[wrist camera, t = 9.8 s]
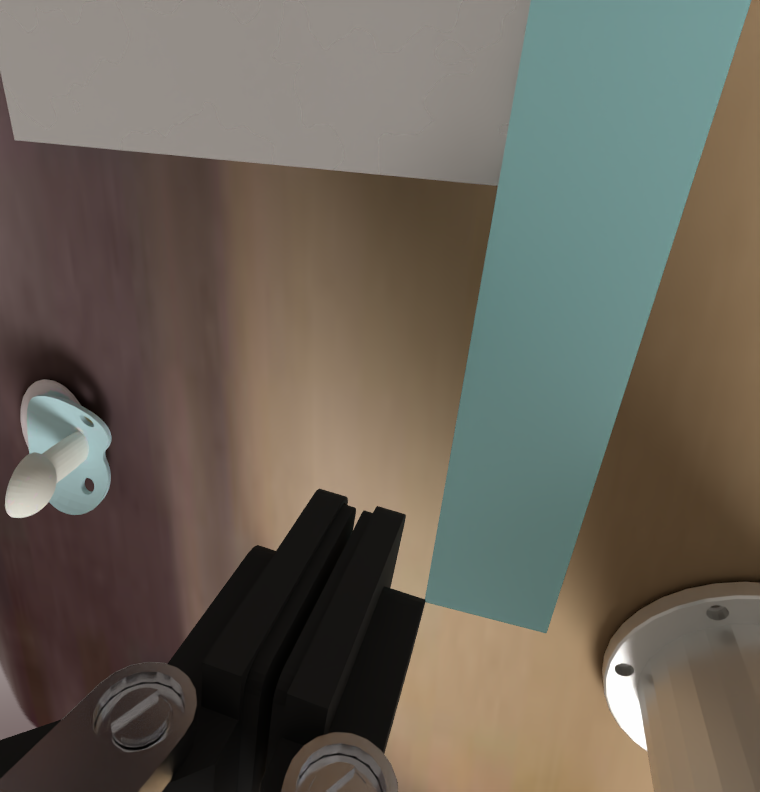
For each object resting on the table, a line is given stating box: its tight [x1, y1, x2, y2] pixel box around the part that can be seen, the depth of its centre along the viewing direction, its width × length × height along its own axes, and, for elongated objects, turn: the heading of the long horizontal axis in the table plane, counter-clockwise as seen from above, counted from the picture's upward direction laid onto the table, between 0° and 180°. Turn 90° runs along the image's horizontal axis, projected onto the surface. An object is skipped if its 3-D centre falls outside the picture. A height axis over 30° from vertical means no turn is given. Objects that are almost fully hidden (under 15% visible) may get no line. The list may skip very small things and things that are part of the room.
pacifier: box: [5, 379, 111, 518], centre depth 29 cm, size 7×6×6 cm
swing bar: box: [425, 0, 751, 633], centre depth 17 cm, size 19×4×11 cm, turn 176°
